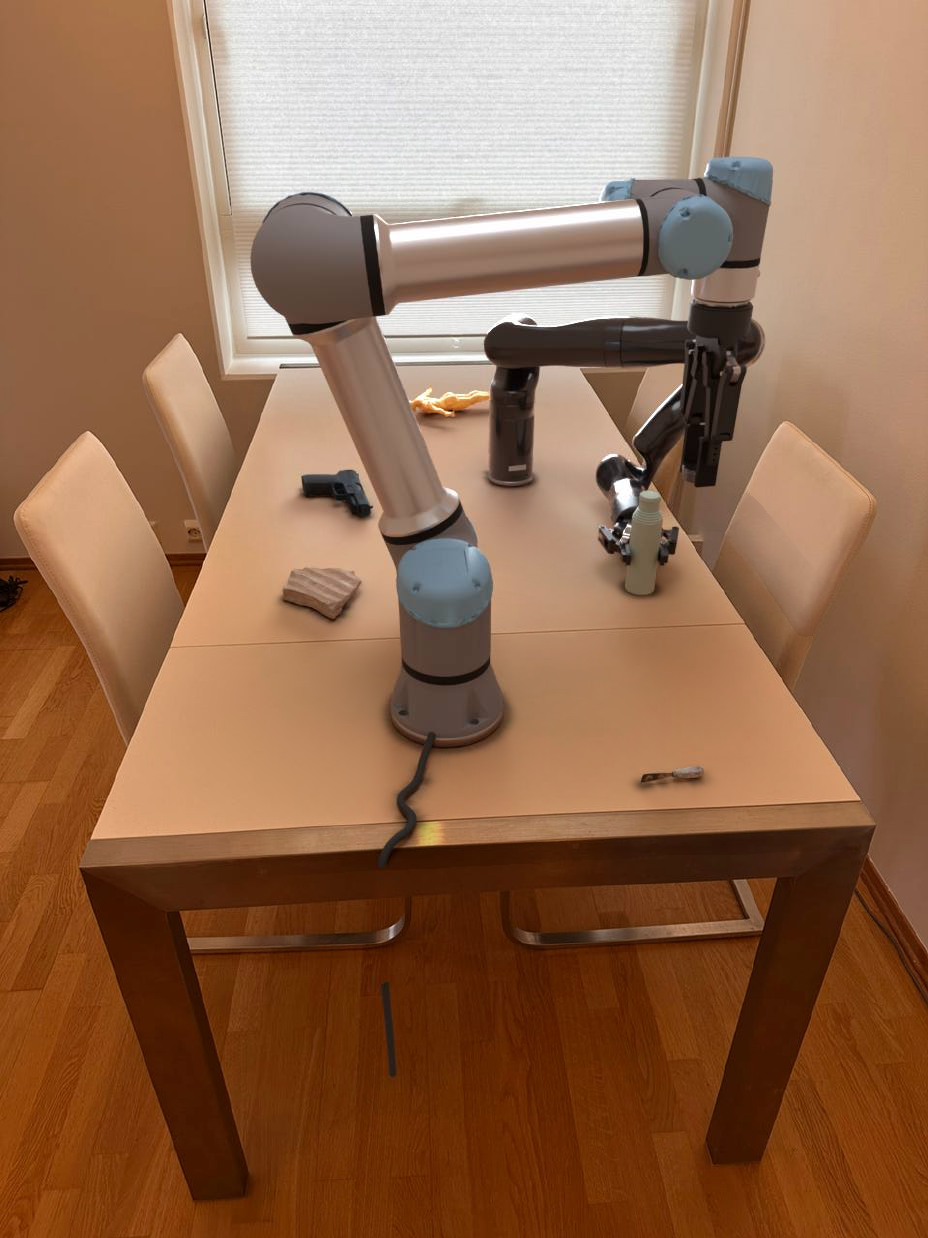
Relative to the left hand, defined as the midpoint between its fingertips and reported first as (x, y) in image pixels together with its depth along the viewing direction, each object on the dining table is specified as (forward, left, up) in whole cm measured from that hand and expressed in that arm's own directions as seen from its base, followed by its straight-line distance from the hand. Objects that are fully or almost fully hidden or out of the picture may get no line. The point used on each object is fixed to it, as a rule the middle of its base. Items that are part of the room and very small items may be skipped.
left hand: (697, 478), depth 121 cm
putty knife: (-31, 0, -27) cm, 41 cm away
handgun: (+38, +67, -27) cm, 82 cm away
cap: (0, 0, +1) cm, 1 cm away
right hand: (+13, +5, -20) cm, 25 cm away
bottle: (+16, +6, -27) cm, 32 cm away
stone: (+1, +57, -27) cm, 63 cm away
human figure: (+97, +57, -27) cm, 116 cm away
